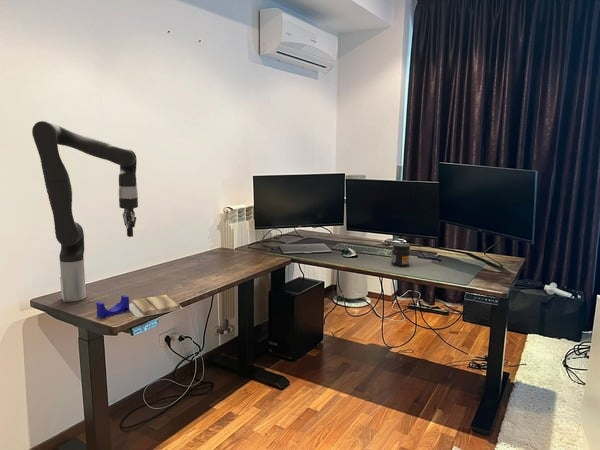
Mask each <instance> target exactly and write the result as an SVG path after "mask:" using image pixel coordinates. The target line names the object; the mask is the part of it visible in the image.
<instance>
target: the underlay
mask: <svg viewBox="0 0 600 450" xmlns="http://www.w3.org/2000/svg"><path fill="white" fill-rule="evenodd" d="M180 310H184V307H183V306H181V305H180V309H175V310H170V311H165V312H159V313H158V312H157V311H156V312H157V313H154V314H149V315H143V314H142V313H141V312H140V311H139V310H138V309H137V308H136V307H135V306H134V305H133V303H132V302H131V303H129V312H131V314H132V315H133V316H134V317H135V318H136V319H138V318H139V319H140V318H145V317H150V316H155V315H159V314H164V313H169V312H175V311H180Z"/></svg>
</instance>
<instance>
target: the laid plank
mask: <svg viewBox="0 0 600 450" xmlns="http://www.w3.org/2000/svg"><path fill="white" fill-rule="evenodd" d="M131 301H132V302H131V303H133V305H134V306H135V307H136V308H137V309H138V310H139V311H140V312H141V313H142V314H143V315H149V314H154V313H157V312H156V308H155V307H153V306H152V305H151V304H150V303H149V302H148V301H147V300H146V298H145V297H142V298H137V299H132V300H131Z"/></svg>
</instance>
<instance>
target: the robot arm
mask: <svg viewBox="0 0 600 450" xmlns="http://www.w3.org/2000/svg"><path fill="white" fill-rule="evenodd" d="M31 133H32V138H33V141H34V144H35V146H36V149H37V153H38V156H39V159H40V164H41V165H40V166H41V170H42V174H43V180H44V183H45V184H44V185H45V188H46V193H47V196H48V201H49V205H50V209H51V211H52V216H53V224H54V233H55V238H56V240H57V242H58V243H59V244H60V251H59V252H60V253H59V255H58V256H59V266H60V267H59V268H60V270H59V271H60V278H59V279H60V281H59V282H60V291H61V292H60V293H61V300H62V301H63V302H65V303H66V302H69V303H70V302H78V301H81V300H84V299H86V298H87V292H86V291H87V290H86V274H85V272H86V271H85V260H84V259H85V257H84V256H85V254H84V253H85V233H84V229H83V227H82V226H81V224H80V223H79V222H76V221H75V219H74V216H73V208H72V207H73V188H72V184H71V180H70V175H69V173H68V170H67V168H66V166H65V164H64V163H63V160H62V158H61V155H60V153H59V146H65V147H69V148H73V149H75V150H77V151H80V152H82V153H83V154H85V155H86V154H87V155H88V156H92V157H95V158H98V159H101V160H105V161H109V162H110V163H113V164H116V165H118V166H119V173H118V204H119V206H118V207H119V208H120V209H123V211H122V214H121V215H122V218H123V223H124V227H125V228H126V236H127V237H129V238H131V237H134V228H135V227H136V221H137V216H136V212H135V210H134V209H137V208H139V200H138V197H139V196H138V186H137V185H138V184H137V155H136V153H135V151H134V150H132V149H128V148H122V147H118V146H114V145H113V144H111V143H109V142H106V141H103V140H99V139H96V138H92V137H89V136H85V135H83V134H79V133H76V132H74V131H71V130H69V129H67V128H65V127H63V126H61V125H60V124H57V123H55V122H53V121H48V120H39V121H37V122H35V123H34V125H33V127H32V130H31ZM58 145H59V146H58Z"/></svg>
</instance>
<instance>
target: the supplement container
mask: <svg viewBox="0 0 600 450" xmlns="http://www.w3.org/2000/svg"><path fill="white" fill-rule="evenodd" d="M410 249H411V245H410V244H408V243H402V242H397V243H393V245H392V249H391V265H392V266H393V265H394V267H396V266H398V268H408V267H409V266H410V264H411V253H412V252H411V250H410ZM407 266H408V267H407Z"/></svg>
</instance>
